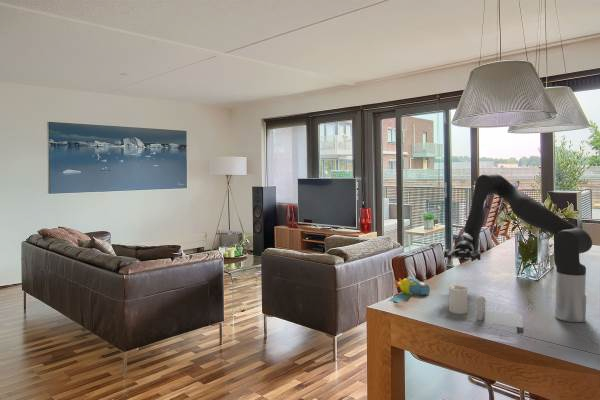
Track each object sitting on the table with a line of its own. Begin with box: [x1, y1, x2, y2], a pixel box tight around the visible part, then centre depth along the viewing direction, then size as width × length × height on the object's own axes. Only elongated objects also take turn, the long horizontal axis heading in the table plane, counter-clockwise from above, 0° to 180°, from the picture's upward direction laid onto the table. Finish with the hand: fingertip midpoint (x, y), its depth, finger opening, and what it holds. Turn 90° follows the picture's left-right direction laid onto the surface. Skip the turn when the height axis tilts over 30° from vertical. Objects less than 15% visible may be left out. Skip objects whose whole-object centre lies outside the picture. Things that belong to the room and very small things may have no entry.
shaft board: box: [438, 295, 524, 333], centre depth 161 cm, size 28×14×10 cm, turn 65°
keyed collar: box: [448, 285, 468, 314], centre depth 167 cm, size 7×6×9 cm
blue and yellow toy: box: [387, 276, 431, 304], centre depth 194 cm, size 28×9×15 cm
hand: (460, 257), depth 176 cm, fingers open, 8 cm apart
